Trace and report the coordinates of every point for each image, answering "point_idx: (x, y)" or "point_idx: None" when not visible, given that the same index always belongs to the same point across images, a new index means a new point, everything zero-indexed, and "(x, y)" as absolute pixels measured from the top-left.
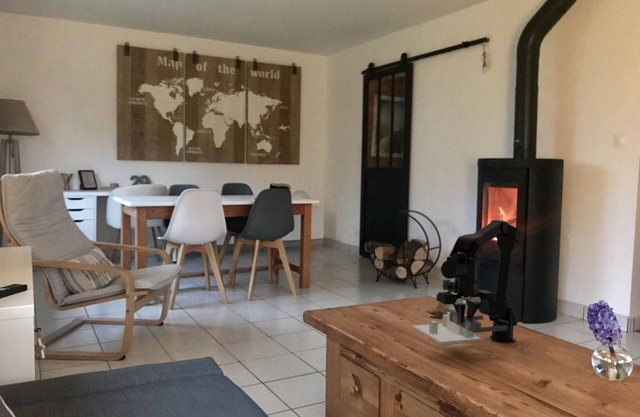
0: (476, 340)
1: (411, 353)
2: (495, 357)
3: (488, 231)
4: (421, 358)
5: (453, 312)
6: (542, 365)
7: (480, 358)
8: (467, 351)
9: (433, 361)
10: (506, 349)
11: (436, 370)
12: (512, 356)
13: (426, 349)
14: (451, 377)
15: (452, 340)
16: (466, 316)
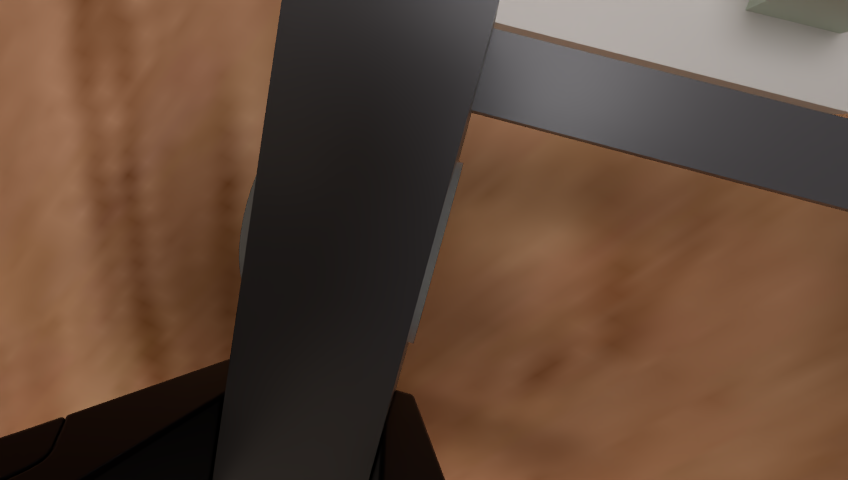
0: (785, 101)
1: (33, 61)
2: (538, 427)
3: None
4: (51, 183)
5: (348, 40)
6: None
7: (426, 387)
8: (464, 246)
9: (96, 266)
10: (792, 372)
11: (34, 375)
12: (666, 476)
13: (194, 41)
14: None
15: (526, 13)
16: (366, 452)
